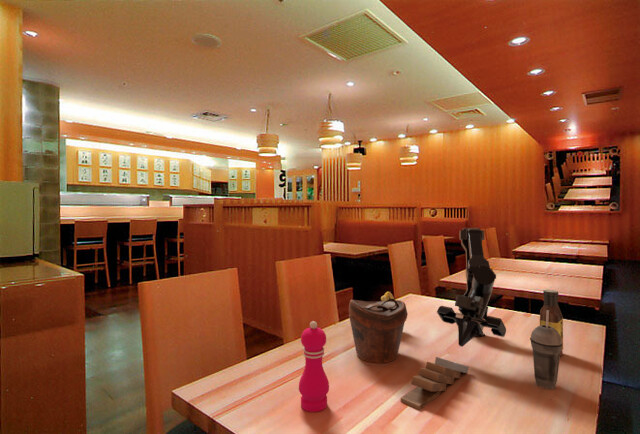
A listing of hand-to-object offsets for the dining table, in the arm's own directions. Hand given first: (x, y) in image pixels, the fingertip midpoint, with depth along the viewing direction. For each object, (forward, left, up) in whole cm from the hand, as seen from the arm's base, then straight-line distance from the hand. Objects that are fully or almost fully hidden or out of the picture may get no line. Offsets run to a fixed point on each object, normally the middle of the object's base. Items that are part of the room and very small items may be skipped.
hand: (460, 345), depth 102 cm
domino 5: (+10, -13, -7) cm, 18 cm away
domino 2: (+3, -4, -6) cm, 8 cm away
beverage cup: (+10, +18, -7) cm, 22 cm away
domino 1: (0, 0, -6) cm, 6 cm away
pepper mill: (+14, -43, -7) cm, 46 cm away
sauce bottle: (-9, +34, -7) cm, 36 cm away
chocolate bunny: (-34, -12, -7) cm, 37 cm away
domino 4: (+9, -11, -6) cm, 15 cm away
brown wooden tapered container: (-13, -21, -7) cm, 26 cm away
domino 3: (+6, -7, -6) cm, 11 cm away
